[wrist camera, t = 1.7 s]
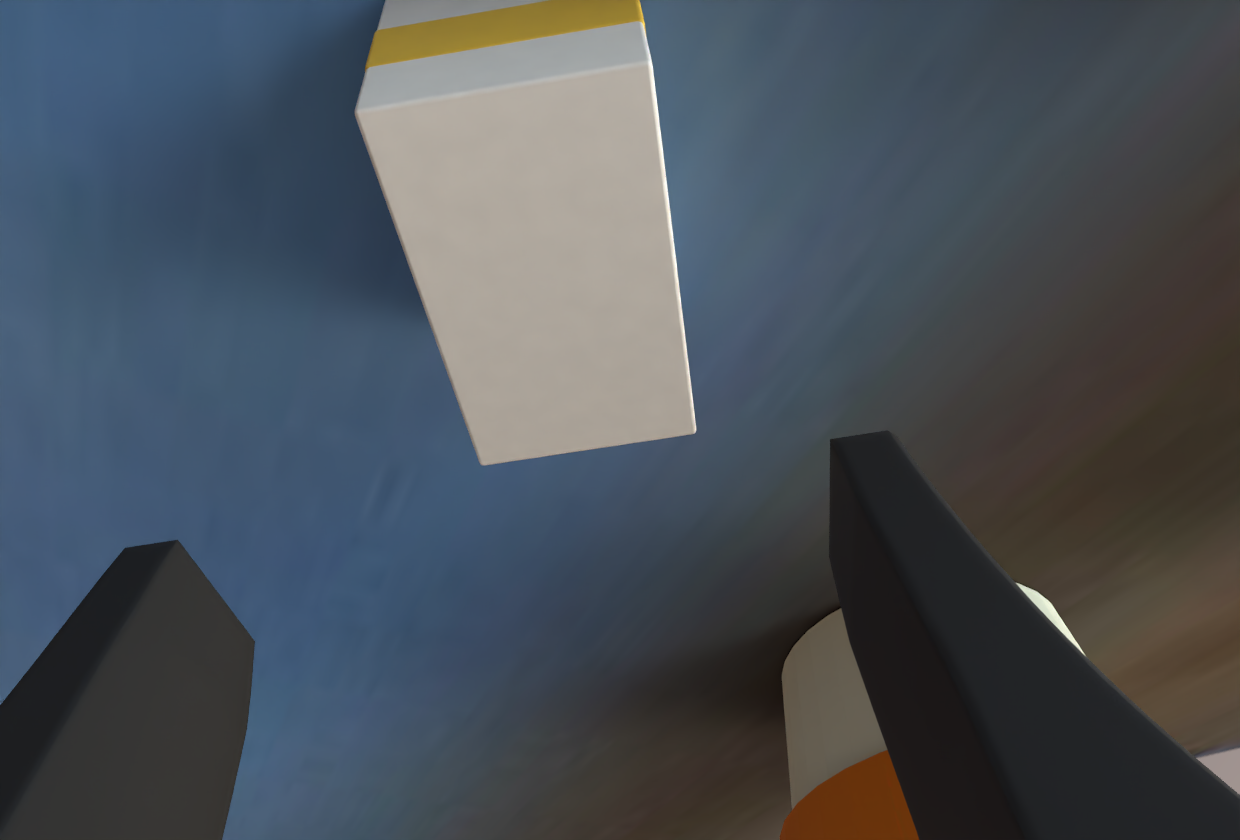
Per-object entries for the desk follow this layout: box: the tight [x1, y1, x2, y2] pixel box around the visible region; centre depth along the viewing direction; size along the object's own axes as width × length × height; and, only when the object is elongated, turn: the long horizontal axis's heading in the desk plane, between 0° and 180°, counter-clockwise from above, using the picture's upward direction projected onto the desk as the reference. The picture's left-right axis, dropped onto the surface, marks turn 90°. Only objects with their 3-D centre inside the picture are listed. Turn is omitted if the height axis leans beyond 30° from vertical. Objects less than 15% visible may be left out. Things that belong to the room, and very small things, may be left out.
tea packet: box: [355, 0, 696, 465], centre depth 16 cm, size 4×7×4 cm, turn 8°
